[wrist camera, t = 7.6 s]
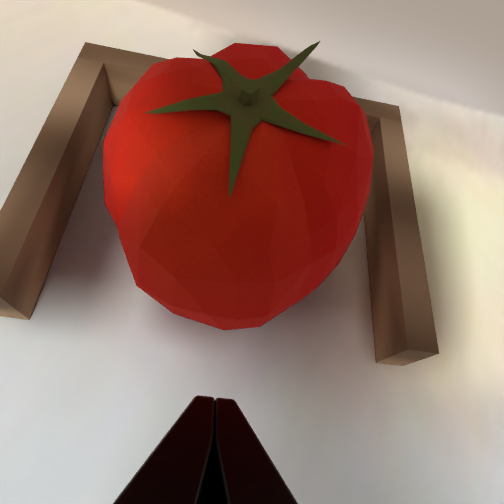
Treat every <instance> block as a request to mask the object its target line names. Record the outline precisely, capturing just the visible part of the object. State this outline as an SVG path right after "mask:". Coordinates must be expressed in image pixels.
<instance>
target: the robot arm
mask: <svg viewBox="0 0 504 504" xmlns="http://www.w3.org/2000/svg"><path fill="white" fill-rule="evenodd" d="M113 504H298V503H297V502H296V500H295V498H294V497H293V495H292V493H291V492H290V490H289V488H288V487H287V485H286V484H285V482H284V480H283V479H282V477H281V475H280V474H279V472H278V470H277V469H276V467H275V465H274V464H273V462H272V461H271V459H270V457H269V456H268V454H267V452H266V451H265V449H264V447H263V446H262V444H261V442H260V441H259V439H258V438H257V436H256V434H255V433H254V431H253V429H252V428H251V426H250V424H249V423H248V421H247V419H246V418H245V416H244V415H243V413H242V411H241V410H240V408H239V406H238V405H237V403H236V402H235V401H234V400H233V399H226V398H216V400H214V398H213V397H207V396H195V397H194V398H193V400H192V401H191V402H190V404H189V405H188V406H187V408H186V409H185V410H184V412H183V413H182V414H181V415H180V417H179V418H178V419H177V421H176V422H175V423H174V425H173V426H172V427H171V428H170V430H169V431H168V432H167V434H166V435H165V436H164V438H163V439H162V440H161V442H160V443H159V444H158V445H157V447H156V448H155V449H154V451H153V452H152V453H151V455H150V456H149V457H148V459H147V460H146V461H145V462H144V464H143V465H142V466H141V468H140V469H139V470H138V472H137V473H136V474H135V475H134V477H133V478H132V479H131V481H130V482H129V483H128V485H127V486H126V487H125V489H124V490H123V491H122V492H121V494H120V495H119V496H118V498H117V499H116V500H115V502H114V503H113Z"/></svg>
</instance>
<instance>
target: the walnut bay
mask: <svg viewBox="0 0 504 504" xmlns="http://www.w3.org/2000/svg"><path fill="white" fill-rule="evenodd" d="M166 60H169V59H165V58H160V57H155V56H150V55H145V54H141V53H136V52H131V51H126V50H121V49H116V48H111V47H106V46H101V45H97V44H92V43H87V42H85V44H84V46H83V48H82V50H81V52H80V54H79V56H78V58H77V60H76V62H75V64H74V66H73V68H72V70H71V72H70V74H69V76H68V78H67V80H66V82H65V84H64V86H63V88H62V90H61V92H60V94H59V96H58V98H57V100H56V102H55V104H54V106H53V107H52V109H51V111H50V113H49V115H48V117H47V119H46V121H45V123H44V125H43V127H42V129H41V131H40V133H39V135H38V137H37V139H36V141H35V143H34V145H33V147H32V149H31V151H30V153H29V155H28V157H27V159H26V161H25V163H24V165H23V167H22V169H21V171H20V173H19V175H18V177H17V179H16V181H15V183H14V185H13V187H12V189H11V191H10V193H9V195H8V197H7V199H6V201H5V203H4V205H3V207H2V209H1V211H0V316H4V317H12V318H20V319H28V320H29V319H30V317H31V314H32V311H33V309H34V306H35V304H36V301H37V299H38V296H39V293H40V291H41V288H42V286H43V283H44V281H45V278H46V275H47V273H48V270H49V268H50V265H51V263H52V260H53V257H54V255H55V252H56V250H57V247H58V245H59V242H60V239H61V237H62V234H63V232H64V229H65V227H66V224H67V222H68V219H69V216H70V214H71V211H72V209H73V206H74V204H75V201H76V198H77V196H78V193H79V191H80V188H81V186H82V183H83V180H84V178H85V175H86V173H87V170H88V168H89V165H90V162H91V160H92V157H93V155H94V152H95V150H96V147H97V144H98V142H99V139H100V137H101V134H102V132H103V129H104V126H105V124H106V121H107V119H108V116H109V114H110V111H111V108H112V106H113V105H115V106H119V105H120V103H121V101H122V99H123V98H124V97H125V96H126V94H127V93H128V92H129V91H130V90H131V89H132V87H133V86H134V85H135V84H136V83H137V82H138V80H139V79H140V78H141V77H142V76H143V75H144V74H145V73H146V71H147V70H148V69H149V68H150V67H151V66H152V65H153V64H155V63H159V62H162V61H166ZM353 98H354V100H355V101H356V102H357V103H358V104H359V106H360V107H361V108H362V110H363V111H364V112H365V114H366V117H367V121H368V126H369V130H370V135H371V140H372V144H373V149H374V154H373V166H372V176H371V186H370V192H369V195H368V198H367V201H366V205H365V208H364V216H365V228H366V241H367V253H368V266H369V279H370V291H371V304H372V317H373V329H374V342H375V354H376V363H384V364H392V365H401V366H404V365H407V364H410V363H412V362H415V361H418V360H421V359H424V358H427V357H430V356H433V355H436V354H439V350H438V344H437V338H436V332H435V326H434V319H433V313H432V307H431V301H430V295H429V289H428V282H427V276H426V270H425V264H424V258H423V252H422V245H421V239H420V233H419V227H418V221H417V215H416V208H415V202H414V196H413V190H412V184H411V178H410V171H409V165H408V159H407V153H406V147H405V141H404V134H403V128H402V122H401V116H400V110H399V106H395V105H390V104H385V103H381V102H376V101H371V100H366V99H361V98H356V97H353Z"/></svg>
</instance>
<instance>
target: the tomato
mask: <svg viewBox="0 0 504 504" xmlns="http://www.w3.org/2000/svg"><path fill="white" fill-rule="evenodd" d="M318 44H319V42H317V43H315V44H313V45H311V46H309V47H308V48H306V49H305V50H304V51H302V52H301V53H300V54H298V55H297V56H296V57H295V58H293V59H292V60H291V59H290V58H289V57H288V56H287V55H286V54H284V53H283V52H282V51H281V50H280V49H279V48H278V47H276V46H264V45H253V44H241V43H234V44H232V45H230V46H228V47H227V48H225V49H223V50H221V51H219V52H218V53H216V54H214V55H212V56H206V55H202V54H200V53H198V52H197V51H195V50H194V49H193V50H194V52H195V53H196V55H197V56H199V57H201V58H203V59H196V58H178V57H177V58H173V59H169V60H166V61H162V62H159V63H155V64H153V65H152V66H151V67H150V68H149V69H148V70H147V71H146V73H145V74H144V75H143V76H142V77H141V78H140V79H139V80H138V82H137V83H136V84H135V85H134V86H133V87H132V89H131V90H130V91H129V92H128V93H127V94H126V96H125V97H124V98H123V99H122V101H121V103H120V105H119V107H118V110H117V112H116V114H115V117H114V119H113V121H112V123H111V126H110V128H109V130H108V132H107V135H106V137H105V139H104V146H103V178H104V199H105V205H106V207H107V209H108V211H109V213H110V215H111V217H112V219H113V221H114V223H115V224H116V226H117V229H118V233H119V238H120V241H121V244H122V246H123V249H124V252H125V255H126V258H127V260H128V263H129V266H130V269H131V271H132V274H133V277H134V280H135V283H136V285H137V286H138V287H139V288H141V289H142V290H143V291H145V292H146V293H147V294H148V295H150V296H151V297H152V298H154V299H155V300H156V301H158V302H159V303H160V304H162V305H163V306H164V307H166V308H167V309H168V310H170V311H171V312H172V313H174V314H177V315H180V316H183V317H186V318H189V319H192V320H195V321H198V322H201V323H204V324H207V325H210V326H213V327H216V328H219V329H222V330H231V329H242V328H252V327H260V326H262V325H263V324H265V323H266V322H268V321H269V320H271V319H272V318H274V317H275V316H277V315H278V314H280V313H282V312H283V311H285V310H286V309H288V308H289V307H291V306H292V305H294V304H295V303H297V302H298V301H300V300H301V299H303V298H304V297H305V296H307V295H308V294H309V293H311V292H312V291H313V290H314V289H316V288H317V287H318V286H319V285H320V284H321V283H322V282H323V281H324V279H325V278H326V277H327V276H328V275H329V274H330V273H331V272H332V271H333V269H334V268H335V267H336V266H337V265H338V264H339V262H340V260H341V259H342V257H343V255H344V253H345V252H346V250H347V248H348V247H349V245H350V243H351V241H352V240H353V238H354V236H355V235H356V232H357V229H358V226H359V223H360V220H361V217H362V214H363V211H364V208H365V205H366V201H367V198H368V195H369V192H370V186H371V176H372V166H373V154H374V149H373V144H372V140H371V135H370V130H369V126H368V121H367V117H366V114H365V112H364V111H363V110H362V108H361V107H360V106H359V104H358V103H357V102H356V101H355V100H354V98H353V97H352V96H351V95H350V93H349V92H348V91H347V90H346V88H345V87H343V86H340V85H337V84H334V83H331V82H328V81H323V80H315V79H308V77H307V75H306V74H305V73H304V72H303V71H302V70H301V69H300V68H299V67H298V66H299V65H300V64H301V63H302V62H303V61H304V60H305V59H306V58H307V56H308V55H309V54H310V53H311V52H312V51H313V50H314V49H315V47H316V46H317V45H318Z"/></svg>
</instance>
